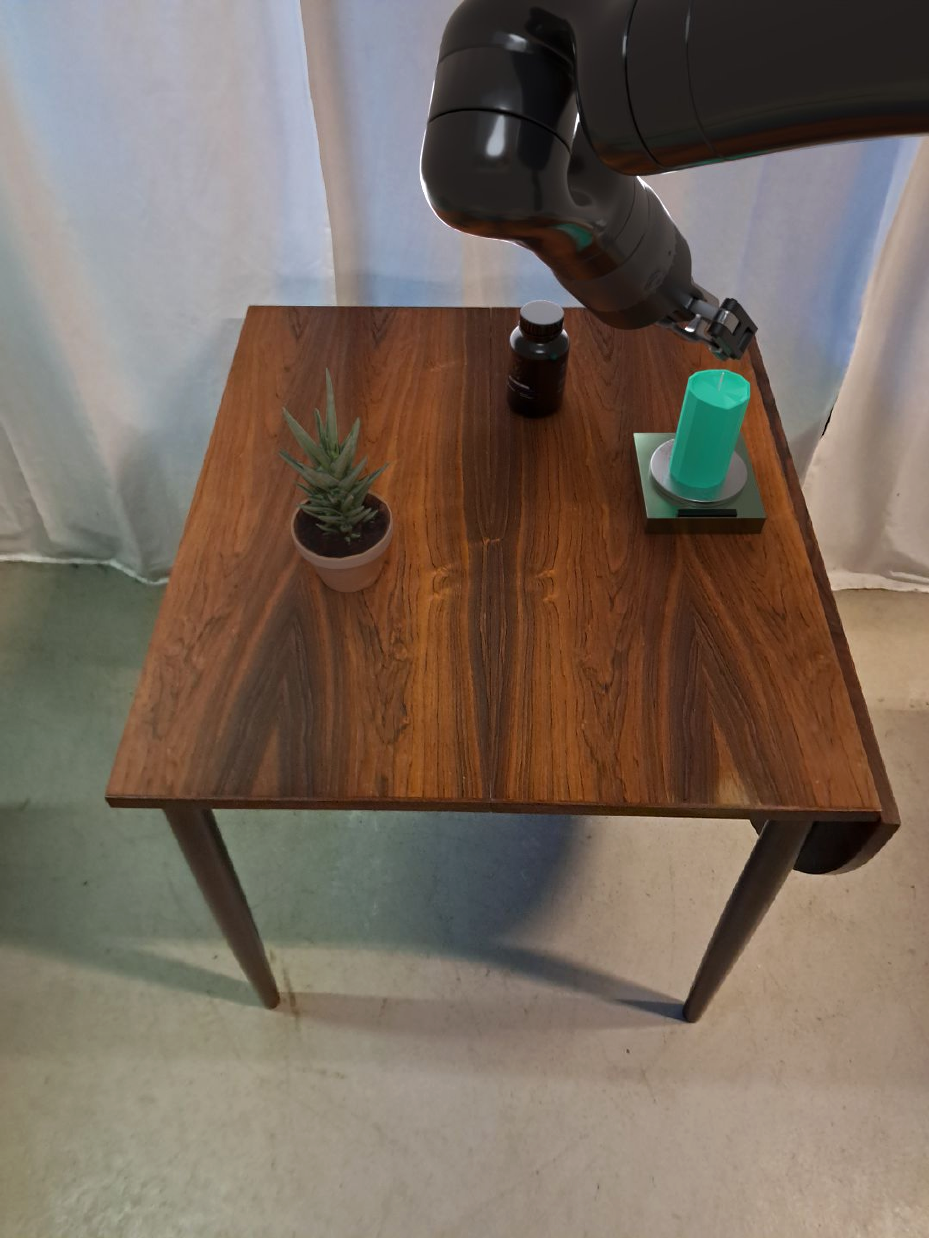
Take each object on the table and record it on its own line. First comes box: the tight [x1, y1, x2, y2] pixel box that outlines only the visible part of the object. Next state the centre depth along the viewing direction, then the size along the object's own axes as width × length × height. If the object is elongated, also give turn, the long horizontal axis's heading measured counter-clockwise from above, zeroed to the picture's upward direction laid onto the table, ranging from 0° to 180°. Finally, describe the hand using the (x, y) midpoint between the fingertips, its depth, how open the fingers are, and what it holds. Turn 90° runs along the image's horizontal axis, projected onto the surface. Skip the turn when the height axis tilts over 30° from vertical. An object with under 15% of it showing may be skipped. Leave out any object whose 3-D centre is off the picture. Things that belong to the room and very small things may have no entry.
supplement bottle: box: [505, 299, 571, 419], centre depth 100 cm, size 7×7×12 cm
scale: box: [630, 432, 767, 535], centre depth 94 cm, size 13×12×3 cm
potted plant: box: [277, 366, 395, 593], centre depth 79 cm, size 10×10×25 cm
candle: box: [670, 369, 751, 488], centre depth 88 cm, size 6×6×12 cm
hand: (682, 327), depth 71 cm, fingers open, 8 cm apart
